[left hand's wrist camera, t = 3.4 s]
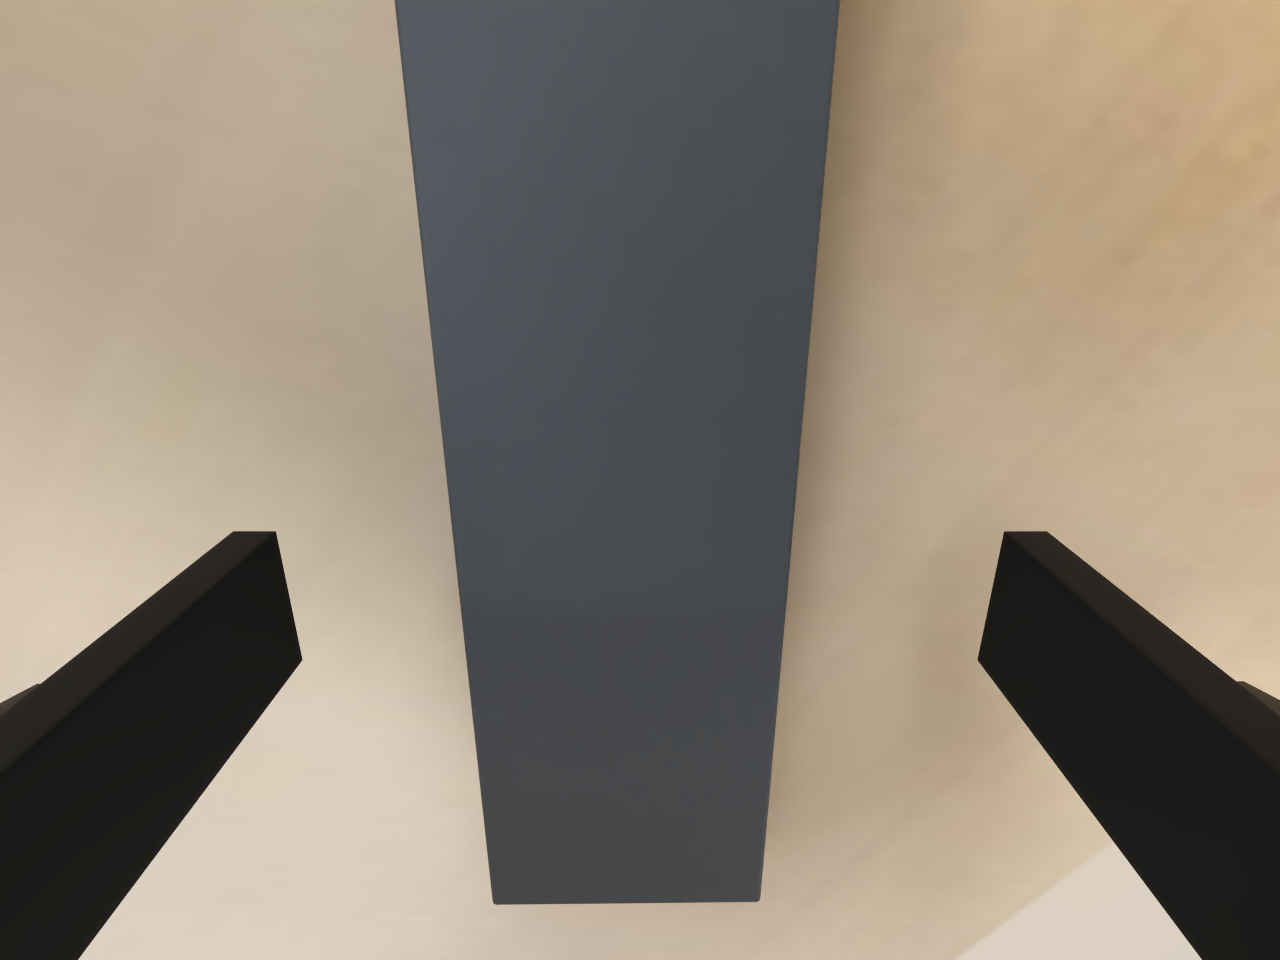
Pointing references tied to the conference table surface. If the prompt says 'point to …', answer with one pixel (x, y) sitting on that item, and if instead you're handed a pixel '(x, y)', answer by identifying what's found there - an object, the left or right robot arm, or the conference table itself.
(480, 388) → the post
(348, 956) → the conference table surface
